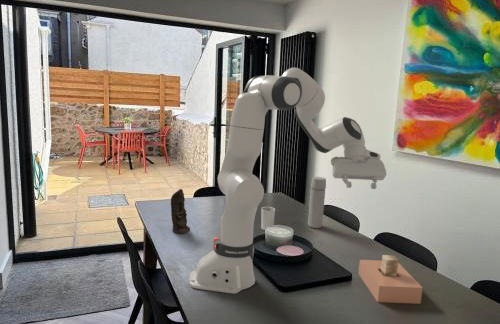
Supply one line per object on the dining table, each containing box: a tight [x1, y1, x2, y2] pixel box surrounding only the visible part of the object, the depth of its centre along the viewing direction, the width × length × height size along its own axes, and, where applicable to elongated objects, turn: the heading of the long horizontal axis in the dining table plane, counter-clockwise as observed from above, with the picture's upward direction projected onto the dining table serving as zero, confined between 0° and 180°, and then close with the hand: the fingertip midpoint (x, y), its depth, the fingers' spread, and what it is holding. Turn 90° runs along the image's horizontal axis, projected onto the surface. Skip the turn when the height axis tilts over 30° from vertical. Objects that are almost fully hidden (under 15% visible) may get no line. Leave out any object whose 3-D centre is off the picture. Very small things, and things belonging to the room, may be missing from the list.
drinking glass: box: [260, 206, 276, 231], centre depth 184 cm, size 7×7×10 cm
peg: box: [380, 254, 400, 277], centre depth 130 cm, size 4×4×10 cm
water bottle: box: [307, 176, 327, 229], centre depth 191 cm, size 9×8×25 cm
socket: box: [357, 259, 423, 305], centre depth 131 cm, size 14×20×6 cm
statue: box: [170, 188, 191, 235], centre depth 173 cm, size 7×7×20 cm
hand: (361, 187), depth 142 cm, fingers open, 8 cm apart
